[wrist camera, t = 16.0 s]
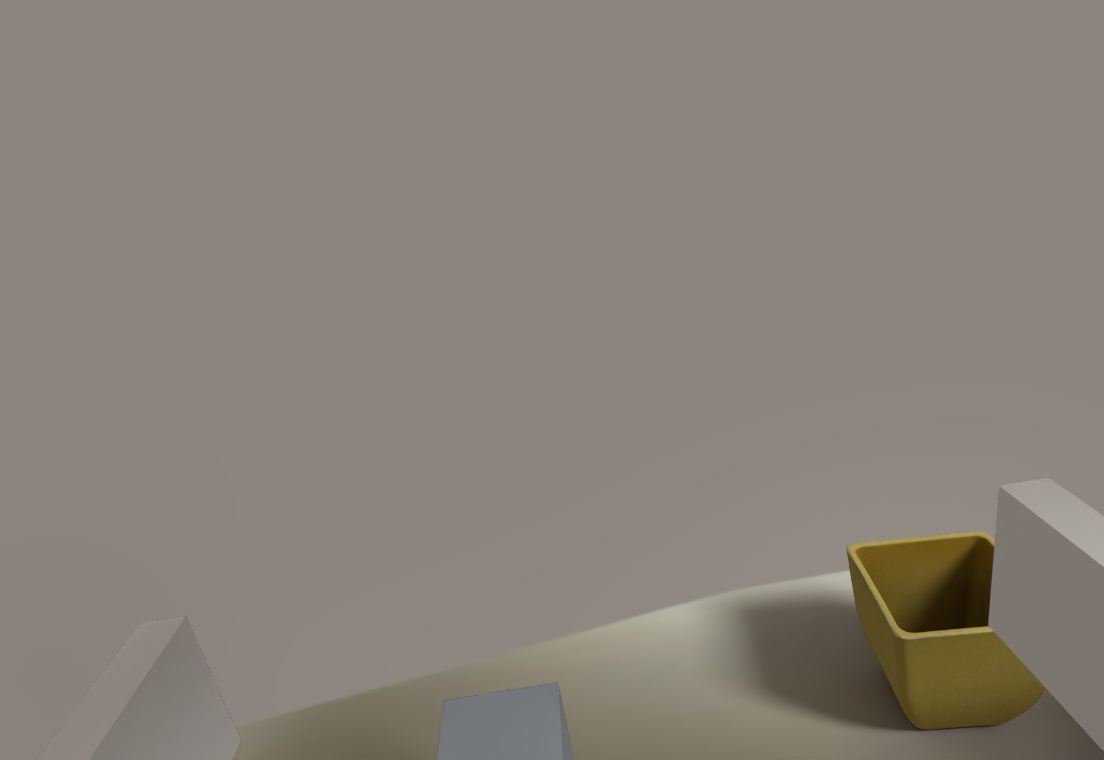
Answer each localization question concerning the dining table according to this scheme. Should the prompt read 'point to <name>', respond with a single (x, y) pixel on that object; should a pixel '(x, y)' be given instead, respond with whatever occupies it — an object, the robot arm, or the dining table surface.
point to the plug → (506, 726)
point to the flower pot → (939, 630)
